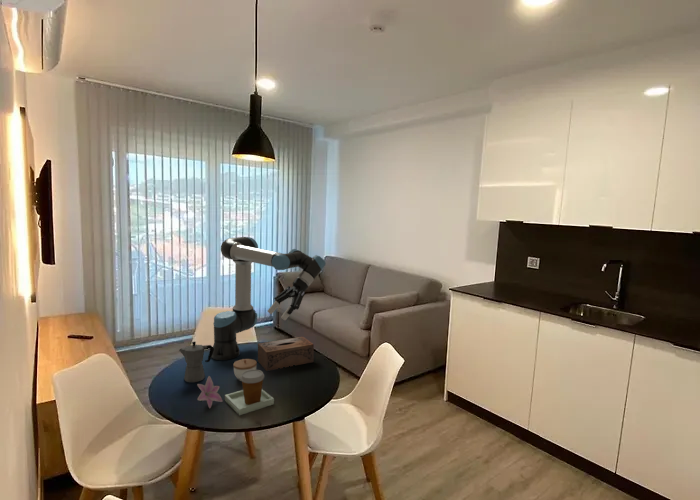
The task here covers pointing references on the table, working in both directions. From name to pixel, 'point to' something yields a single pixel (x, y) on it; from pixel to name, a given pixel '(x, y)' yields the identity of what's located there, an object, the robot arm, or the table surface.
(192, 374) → the coffeepot
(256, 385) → the disposable coffee cup
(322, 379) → the table surface
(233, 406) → the tray
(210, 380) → the lily
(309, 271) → the robot arm
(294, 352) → the tissue box cover
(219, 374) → the table surface
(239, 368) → the lidded jar
